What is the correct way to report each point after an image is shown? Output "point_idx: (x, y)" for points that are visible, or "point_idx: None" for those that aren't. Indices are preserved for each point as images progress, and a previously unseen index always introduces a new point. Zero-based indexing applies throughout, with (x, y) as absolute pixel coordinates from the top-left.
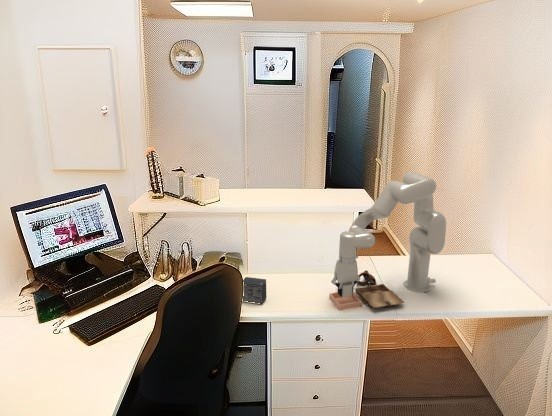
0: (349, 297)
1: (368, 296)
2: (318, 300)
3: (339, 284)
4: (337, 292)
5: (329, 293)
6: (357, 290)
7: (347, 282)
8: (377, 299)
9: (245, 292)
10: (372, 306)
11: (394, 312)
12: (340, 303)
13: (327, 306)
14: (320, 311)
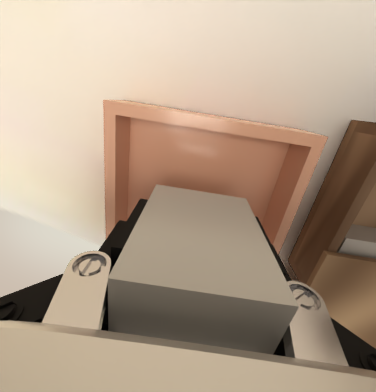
0: (265, 161)
1: (348, 282)
2: (38, 78)
3: (101, 292)
4: (183, 119)
5: (103, 100)
6: (370, 170)
7: (231, 345)
8: (361, 324)
9: None
10: None
11: None
12: None
13: (78, 178)
14: (22, 204)
